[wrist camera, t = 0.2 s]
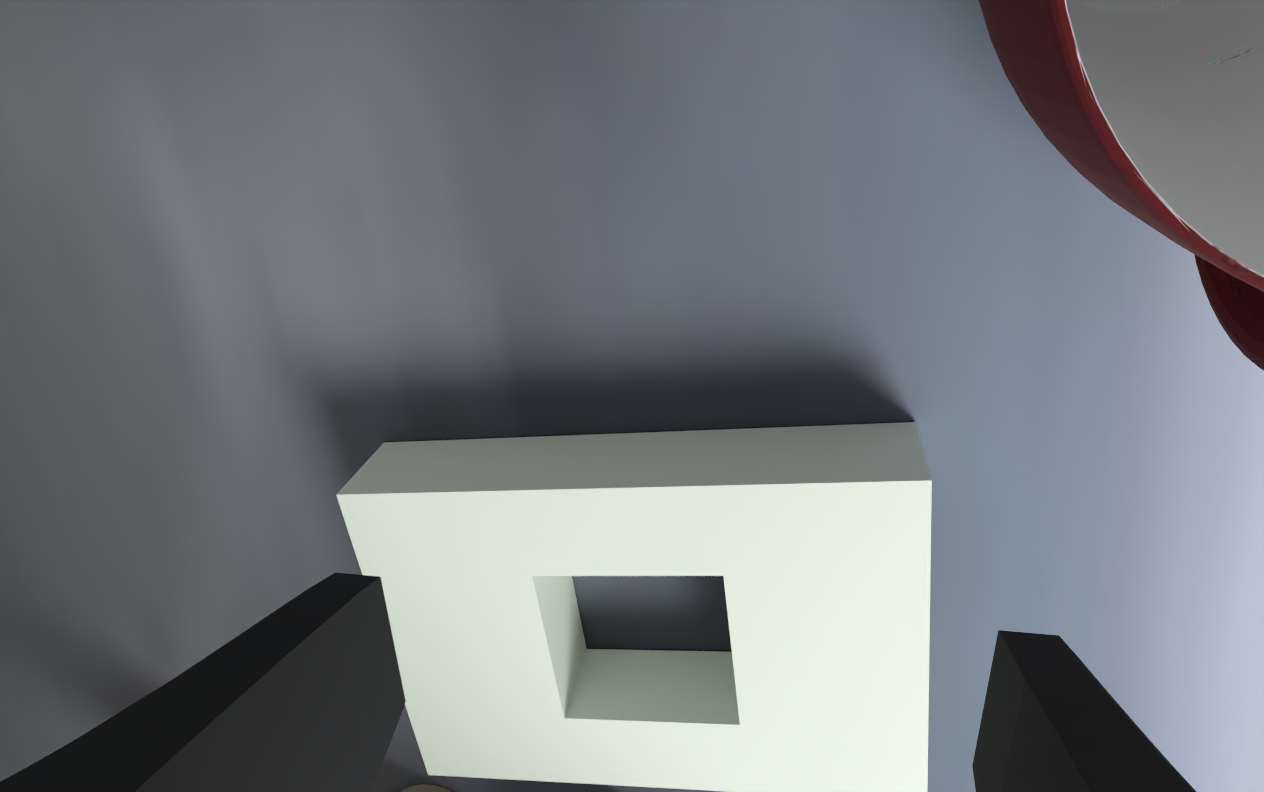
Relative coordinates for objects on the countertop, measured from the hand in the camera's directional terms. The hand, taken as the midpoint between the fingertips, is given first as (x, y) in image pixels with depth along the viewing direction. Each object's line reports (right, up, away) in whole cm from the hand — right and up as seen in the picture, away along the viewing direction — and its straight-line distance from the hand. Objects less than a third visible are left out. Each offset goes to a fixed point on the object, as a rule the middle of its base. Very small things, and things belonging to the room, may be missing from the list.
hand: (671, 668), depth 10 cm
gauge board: (0, -2, +12) cm, 12 cm away
